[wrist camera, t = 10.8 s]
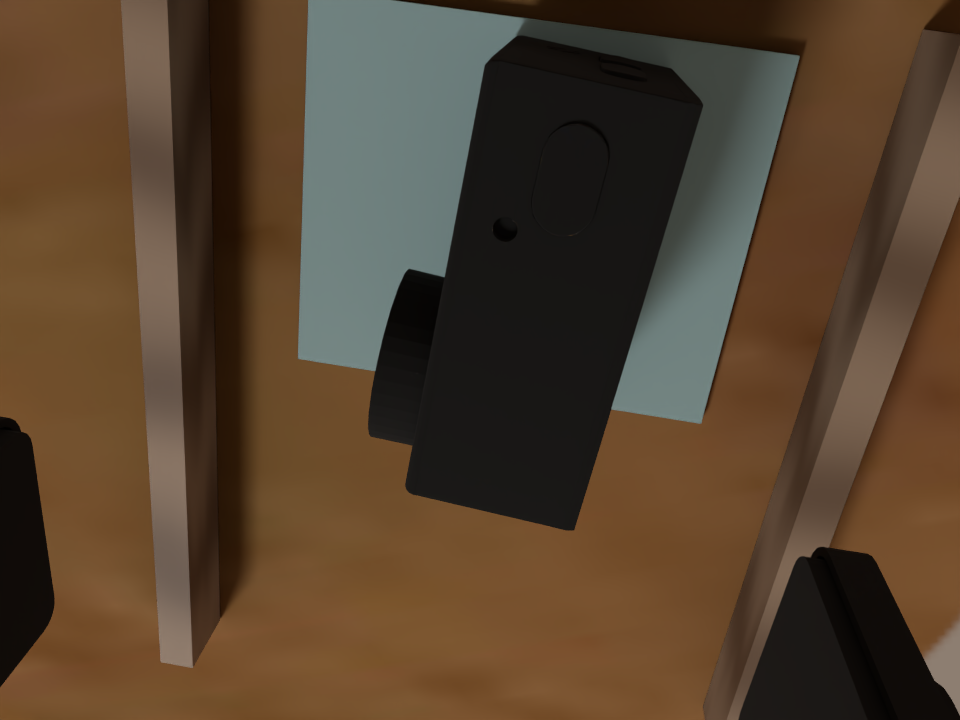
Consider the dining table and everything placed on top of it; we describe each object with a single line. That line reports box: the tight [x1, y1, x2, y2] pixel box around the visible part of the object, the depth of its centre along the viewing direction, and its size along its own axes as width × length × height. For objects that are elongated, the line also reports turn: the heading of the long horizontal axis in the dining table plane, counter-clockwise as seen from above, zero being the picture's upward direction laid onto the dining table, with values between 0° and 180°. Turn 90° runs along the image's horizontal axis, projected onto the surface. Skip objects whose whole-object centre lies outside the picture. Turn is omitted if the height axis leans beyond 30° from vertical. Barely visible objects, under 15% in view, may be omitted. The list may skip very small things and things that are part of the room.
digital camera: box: [368, 35, 703, 530], centre depth 21 cm, size 10×5×7 cm, turn 169°
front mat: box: [298, 0, 800, 424], centre depth 25 cm, size 11×13×1 cm
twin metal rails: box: [121, 0, 960, 720], centre depth 26 cm, size 24×21×2 cm
